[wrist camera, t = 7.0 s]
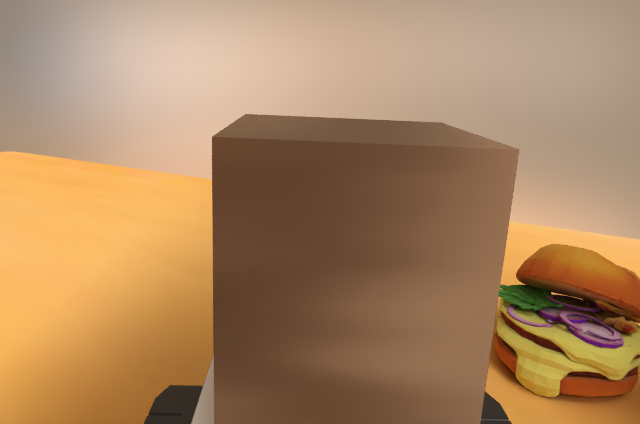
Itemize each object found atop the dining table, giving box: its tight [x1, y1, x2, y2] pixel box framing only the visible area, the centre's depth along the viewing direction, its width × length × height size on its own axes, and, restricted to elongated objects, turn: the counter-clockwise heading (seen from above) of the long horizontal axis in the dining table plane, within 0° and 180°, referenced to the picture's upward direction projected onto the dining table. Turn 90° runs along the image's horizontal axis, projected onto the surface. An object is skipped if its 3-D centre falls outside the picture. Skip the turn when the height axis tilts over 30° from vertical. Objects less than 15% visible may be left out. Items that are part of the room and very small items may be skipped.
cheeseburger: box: [495, 244, 640, 397], centre depth 37 cm, size 10×11×10 cm
